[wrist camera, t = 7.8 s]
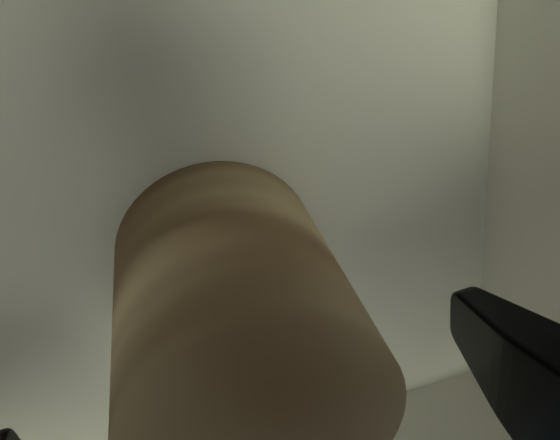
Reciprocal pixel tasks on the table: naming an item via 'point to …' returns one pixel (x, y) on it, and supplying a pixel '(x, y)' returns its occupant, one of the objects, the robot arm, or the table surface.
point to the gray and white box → (279, 171)
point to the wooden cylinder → (240, 320)
